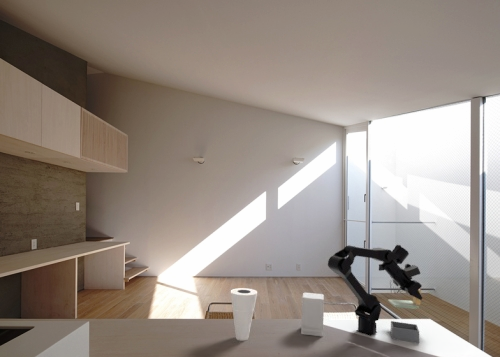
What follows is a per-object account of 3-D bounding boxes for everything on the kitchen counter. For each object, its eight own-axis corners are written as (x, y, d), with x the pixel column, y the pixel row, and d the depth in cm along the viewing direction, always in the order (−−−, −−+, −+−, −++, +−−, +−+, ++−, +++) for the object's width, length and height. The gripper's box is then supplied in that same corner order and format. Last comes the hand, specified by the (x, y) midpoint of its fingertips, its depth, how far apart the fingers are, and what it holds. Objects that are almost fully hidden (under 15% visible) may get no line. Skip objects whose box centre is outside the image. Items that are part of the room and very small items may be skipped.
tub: (391, 339, 142) (392, 327, 143) (390, 333, 150) (390, 321, 150) (419, 344, 139) (419, 331, 139) (416, 336, 147) (416, 324, 147)
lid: (394, 308, 151) (394, 289, 152) (387, 302, 160) (388, 285, 160) (423, 310, 151) (423, 291, 151) (414, 304, 159) (415, 286, 159)
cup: (259, 336, 140) (261, 290, 141) (248, 346, 131) (250, 296, 132) (236, 331, 145) (238, 286, 146) (223, 340, 135) (225, 292, 136)
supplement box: (323, 337, 142) (324, 299, 143) (300, 334, 144) (301, 297, 145) (322, 329, 151) (324, 293, 152) (301, 326, 153) (303, 291, 154)
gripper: (417, 262, 147) (443, 291, 146) (400, 255, 166) (424, 280, 164) (397, 280, 147) (424, 309, 146) (382, 271, 166) (406, 296, 164)
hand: (419, 298), depth 155 cm, fingers closed on lid, 3 cm apart
